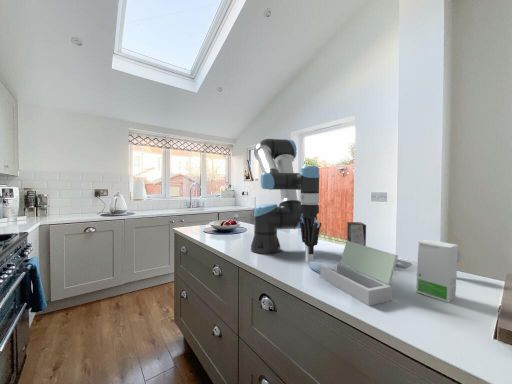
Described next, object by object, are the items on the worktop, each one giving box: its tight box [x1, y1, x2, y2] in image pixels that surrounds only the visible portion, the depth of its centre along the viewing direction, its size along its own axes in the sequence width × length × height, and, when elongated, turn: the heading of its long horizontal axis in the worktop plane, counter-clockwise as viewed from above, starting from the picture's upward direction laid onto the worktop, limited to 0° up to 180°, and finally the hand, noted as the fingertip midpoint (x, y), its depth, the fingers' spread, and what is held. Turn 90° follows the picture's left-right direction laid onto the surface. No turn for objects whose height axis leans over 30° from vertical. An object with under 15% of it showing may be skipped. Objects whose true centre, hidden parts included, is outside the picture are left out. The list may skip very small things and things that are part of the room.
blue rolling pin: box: [308, 260, 324, 275], centre depth 87 cm, size 10×3×3 cm
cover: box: [339, 240, 399, 286], centre depth 76 cm, size 20×9×1 cm
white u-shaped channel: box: [319, 263, 393, 306], centre depth 74 cm, size 21×8×4 cm, turn 20°
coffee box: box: [346, 221, 367, 246], centre depth 104 cm, size 9×6×16 cm
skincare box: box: [415, 238, 459, 304], centre depth 69 cm, size 8×7×16 cm
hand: (309, 261), depth 96 cm, fingers closed
